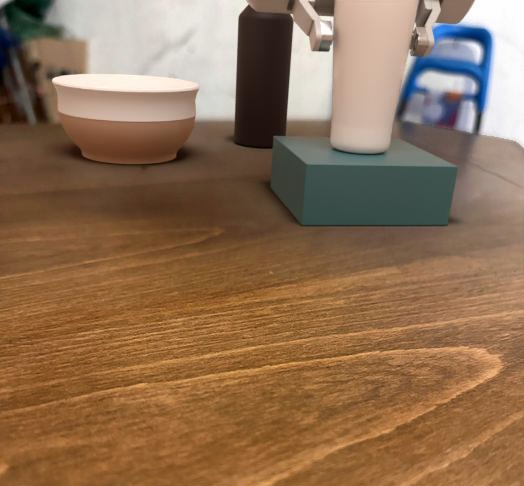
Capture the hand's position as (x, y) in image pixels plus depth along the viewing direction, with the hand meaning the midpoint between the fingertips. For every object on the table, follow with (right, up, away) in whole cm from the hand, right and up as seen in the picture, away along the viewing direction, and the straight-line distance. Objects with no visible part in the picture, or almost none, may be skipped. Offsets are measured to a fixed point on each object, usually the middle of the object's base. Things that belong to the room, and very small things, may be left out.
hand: (373, 49), depth 55 cm
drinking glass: (-1, -7, +4) cm, 9 cm away
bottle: (-10, +2, +33) cm, 35 cm away
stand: (-1, -12, +7) cm, 13 cm away
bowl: (-25, -2, +22) cm, 33 cm away
